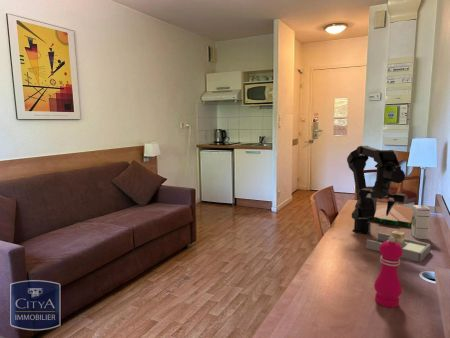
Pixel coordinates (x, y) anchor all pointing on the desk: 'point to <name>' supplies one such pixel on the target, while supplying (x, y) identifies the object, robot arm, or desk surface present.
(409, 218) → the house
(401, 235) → the wooden cube
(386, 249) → the pepper mill
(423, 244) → the tray
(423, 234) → the syrup box
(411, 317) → the desk surface
